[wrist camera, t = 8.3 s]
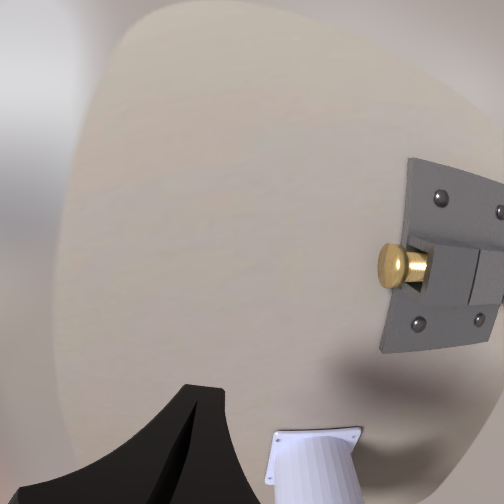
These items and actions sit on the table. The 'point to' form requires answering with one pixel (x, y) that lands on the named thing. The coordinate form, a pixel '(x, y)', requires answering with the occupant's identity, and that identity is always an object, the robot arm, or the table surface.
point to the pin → (400, 266)
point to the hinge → (448, 260)
